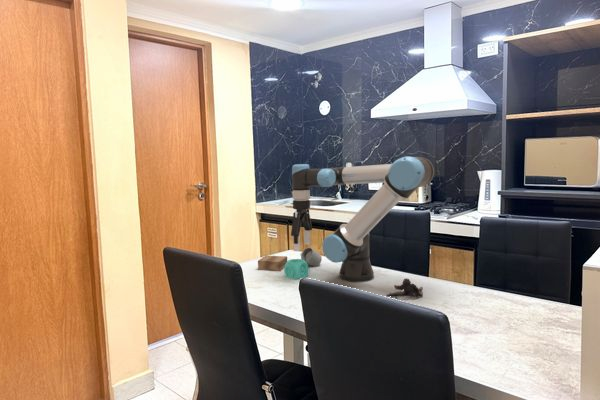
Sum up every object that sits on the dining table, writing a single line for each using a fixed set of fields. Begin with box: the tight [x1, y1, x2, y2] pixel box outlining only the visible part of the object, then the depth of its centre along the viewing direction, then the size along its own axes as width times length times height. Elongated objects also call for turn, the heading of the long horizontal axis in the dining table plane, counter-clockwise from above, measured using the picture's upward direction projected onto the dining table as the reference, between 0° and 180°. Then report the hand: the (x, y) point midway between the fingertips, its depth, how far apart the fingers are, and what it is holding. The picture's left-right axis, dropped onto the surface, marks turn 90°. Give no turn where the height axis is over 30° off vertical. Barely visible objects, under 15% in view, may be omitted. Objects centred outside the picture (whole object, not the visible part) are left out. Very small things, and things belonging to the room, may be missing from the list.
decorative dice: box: [283, 258, 310, 280], centre depth 192 cm, size 8×8×8 cm
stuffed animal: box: [385, 278, 424, 301], centre depth 164 cm, size 12×10×12 cm
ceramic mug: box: [299, 246, 323, 267], centre depth 212 cm, size 11×8×8 cm
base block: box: [257, 255, 288, 272], centre depth 207 cm, size 11×11×6 cm
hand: (302, 247), depth 188 cm, fingers open, 13 cm apart
